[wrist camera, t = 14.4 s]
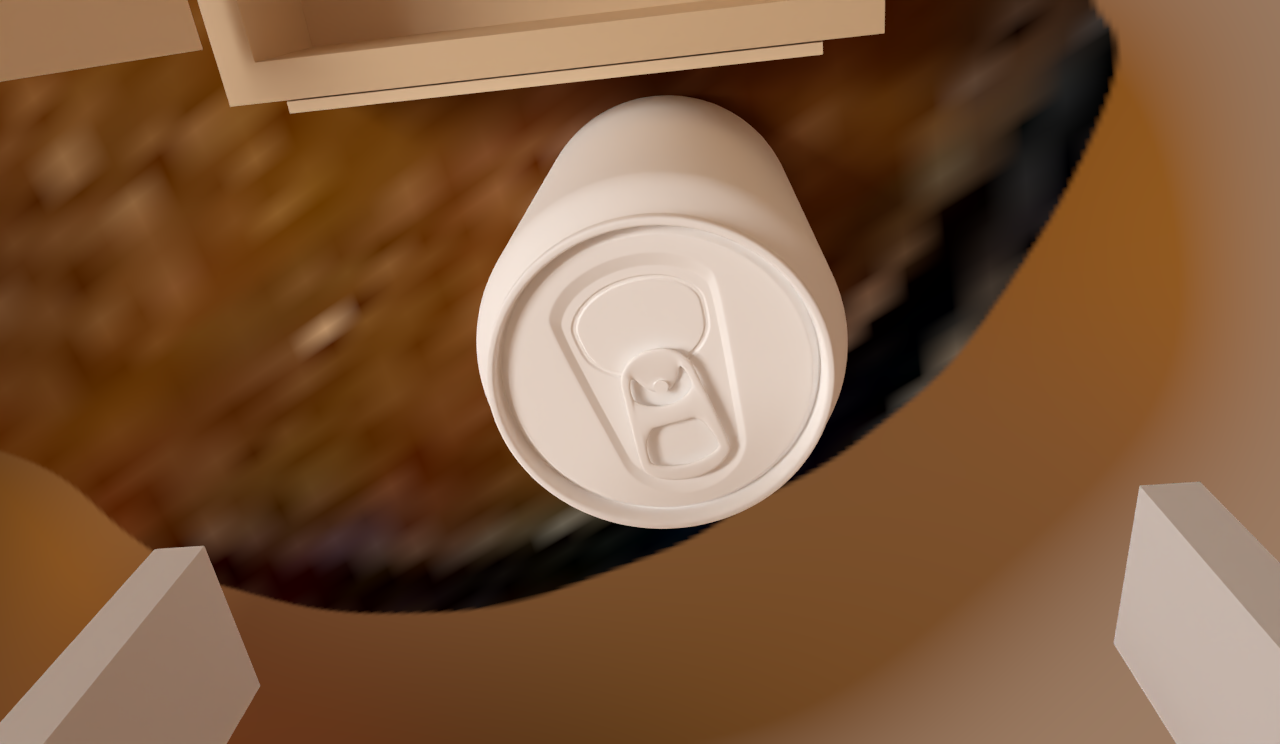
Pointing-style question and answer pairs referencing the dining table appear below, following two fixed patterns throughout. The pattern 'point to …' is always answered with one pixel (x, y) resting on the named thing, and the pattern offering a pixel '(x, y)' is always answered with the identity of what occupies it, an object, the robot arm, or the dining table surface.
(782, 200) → the beverage can
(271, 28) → the carton
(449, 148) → the dining table surface
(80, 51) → the flap
